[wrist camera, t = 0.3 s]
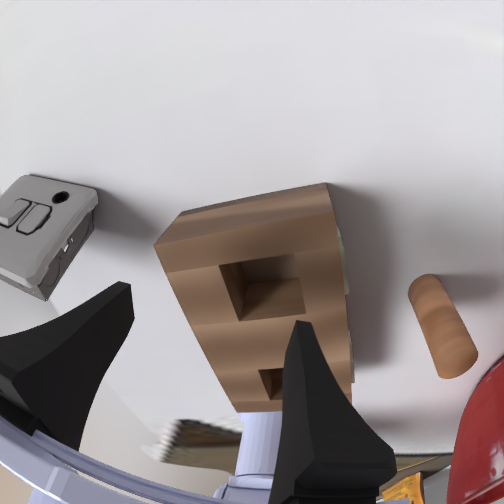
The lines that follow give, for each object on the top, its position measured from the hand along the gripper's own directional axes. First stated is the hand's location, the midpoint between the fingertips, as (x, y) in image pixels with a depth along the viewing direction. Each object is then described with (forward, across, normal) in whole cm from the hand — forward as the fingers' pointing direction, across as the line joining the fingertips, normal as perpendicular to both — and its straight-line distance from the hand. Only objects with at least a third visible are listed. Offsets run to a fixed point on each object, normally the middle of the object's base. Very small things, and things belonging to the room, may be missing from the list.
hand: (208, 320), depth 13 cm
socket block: (+10, -3, +6) cm, 12 cm away
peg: (+10, -15, +2) cm, 18 cm away
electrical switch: (+10, +16, +2) cm, 19 cm away
